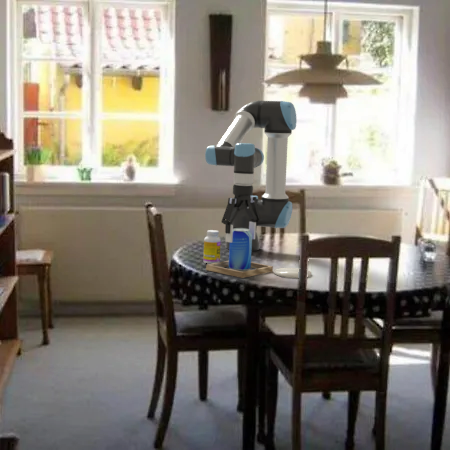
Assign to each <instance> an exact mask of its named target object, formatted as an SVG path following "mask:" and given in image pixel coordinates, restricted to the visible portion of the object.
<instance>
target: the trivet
mask: <svg viewBox="0 0 450 450" xmlns="http://www.w3.org/2000/svg"><path fill="white" fill-rule="evenodd" d="M299 269H300V268H297V267H281V268H275V269H273V274H274V276H278V277H281V278H288V279H299V278H298V272H299ZM310 277H312V272H311V271H310V270H308V277H307V278H310Z"/></svg>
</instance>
